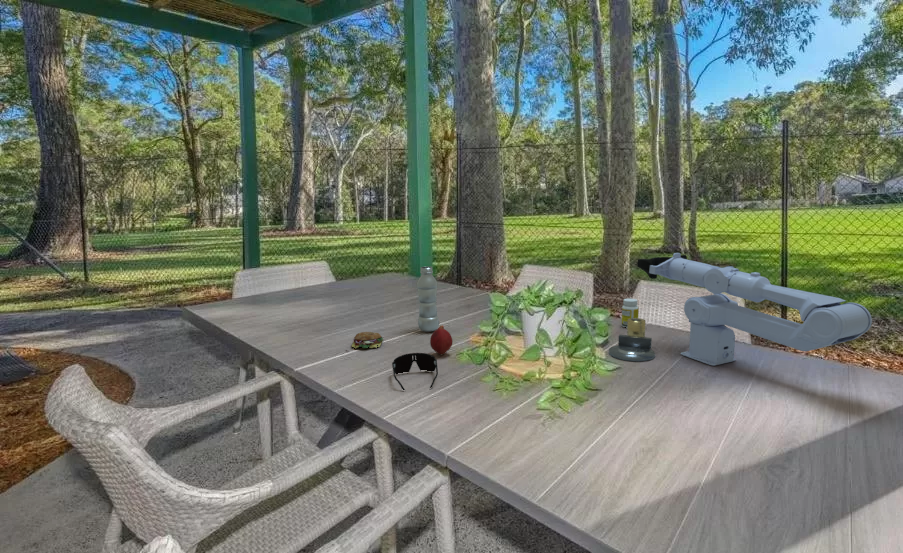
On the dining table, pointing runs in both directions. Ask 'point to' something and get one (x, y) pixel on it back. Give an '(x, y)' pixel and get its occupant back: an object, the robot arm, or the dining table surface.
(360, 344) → the hamburger
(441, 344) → the onion
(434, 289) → the plastic bottle
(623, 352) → the flange seat
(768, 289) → the robot arm
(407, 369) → the sunglasses
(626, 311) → the supplement bottle
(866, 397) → the dining table surface
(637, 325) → the cylinder
